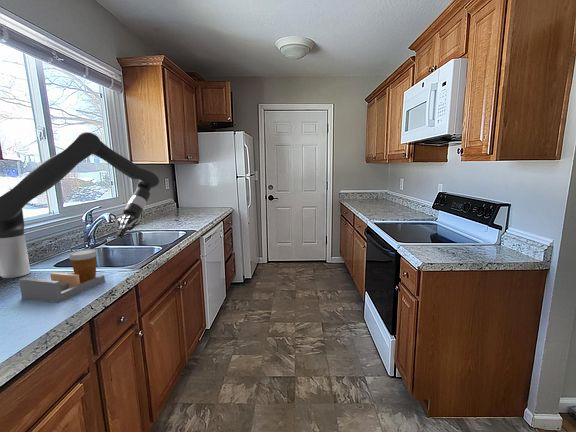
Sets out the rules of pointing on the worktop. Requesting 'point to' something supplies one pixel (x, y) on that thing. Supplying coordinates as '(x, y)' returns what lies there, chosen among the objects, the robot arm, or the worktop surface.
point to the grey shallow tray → (53, 289)
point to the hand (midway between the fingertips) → (118, 237)
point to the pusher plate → (65, 280)
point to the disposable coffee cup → (84, 264)
